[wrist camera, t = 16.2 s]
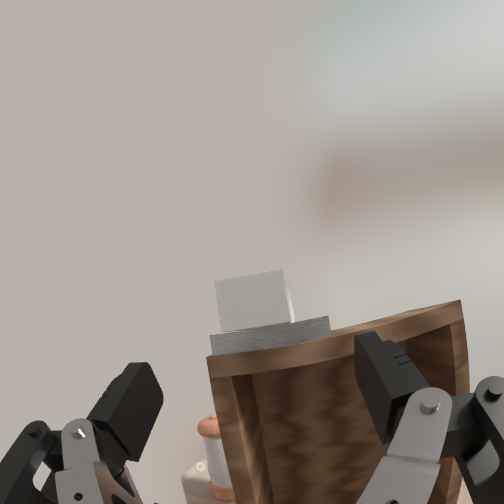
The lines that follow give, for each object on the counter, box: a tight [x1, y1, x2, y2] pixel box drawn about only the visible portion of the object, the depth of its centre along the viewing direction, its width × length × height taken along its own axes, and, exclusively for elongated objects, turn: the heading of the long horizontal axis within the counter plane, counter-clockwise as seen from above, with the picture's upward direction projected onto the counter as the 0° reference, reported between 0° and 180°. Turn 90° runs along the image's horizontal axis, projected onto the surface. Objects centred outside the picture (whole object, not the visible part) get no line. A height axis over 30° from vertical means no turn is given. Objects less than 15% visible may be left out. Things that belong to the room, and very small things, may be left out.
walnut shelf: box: [206, 300, 470, 504], centre depth 25 cm, size 26×14×32 cm, turn 83°
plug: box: [215, 269, 295, 332], centre depth 26 cm, size 5×22×4 cm, turn 173°
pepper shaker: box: [197, 414, 236, 501], centre depth 41 cm, size 7×7×19 cm
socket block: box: [210, 316, 332, 356], centre depth 29 cm, size 11×12×2 cm
